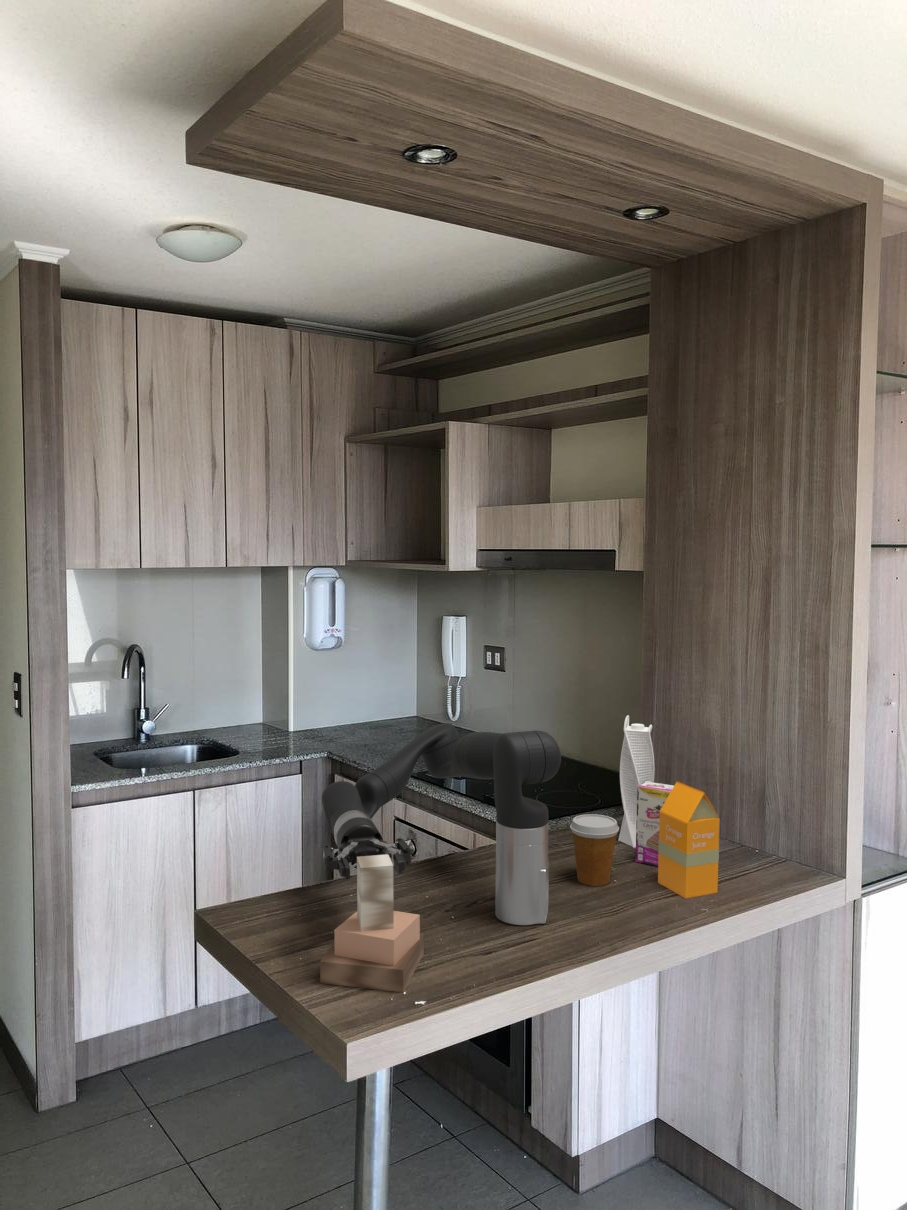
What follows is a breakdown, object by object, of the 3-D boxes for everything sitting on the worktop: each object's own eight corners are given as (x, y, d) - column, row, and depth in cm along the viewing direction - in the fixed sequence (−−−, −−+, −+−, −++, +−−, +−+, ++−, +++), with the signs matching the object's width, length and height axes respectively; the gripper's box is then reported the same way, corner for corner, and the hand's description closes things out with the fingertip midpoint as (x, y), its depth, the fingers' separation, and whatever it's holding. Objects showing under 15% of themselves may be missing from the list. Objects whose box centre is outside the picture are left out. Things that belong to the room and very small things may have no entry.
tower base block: (423, 957, 154) (423, 933, 154) (403, 995, 141) (403, 969, 141) (347, 949, 157) (347, 926, 156) (320, 986, 144) (320, 961, 144)
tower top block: (419, 939, 152) (419, 914, 151) (393, 965, 142) (393, 940, 142) (363, 929, 155) (363, 905, 155) (334, 955, 146) (334, 929, 145)
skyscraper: (610, 839, 212) (612, 715, 209) (637, 834, 215) (639, 712, 213) (632, 850, 205) (635, 722, 202) (659, 845, 208) (662, 719, 206)
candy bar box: (634, 862, 197) (635, 785, 196) (643, 855, 201) (644, 780, 200) (686, 873, 191) (688, 793, 190) (694, 866, 195) (696, 788, 194)
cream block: (388, 915, 151) (388, 854, 150) (393, 928, 146) (393, 865, 145) (357, 918, 150) (356, 856, 149) (361, 931, 145) (360, 868, 144)
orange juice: (685, 898, 178) (687, 794, 176) (656, 882, 186) (659, 782, 184) (718, 892, 181) (721, 789, 179) (689, 876, 189) (692, 778, 187)
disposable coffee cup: (586, 868, 194) (587, 810, 193) (627, 879, 187) (628, 820, 186) (559, 880, 186) (560, 821, 185) (601, 893, 180) (602, 831, 179)
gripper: (397, 854, 169) (418, 888, 153) (317, 862, 165) (330, 898, 149) (396, 813, 168) (417, 843, 152) (316, 820, 164) (329, 852, 149)
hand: (374, 870), depth 151 cm, fingers open, 8 cm apart
